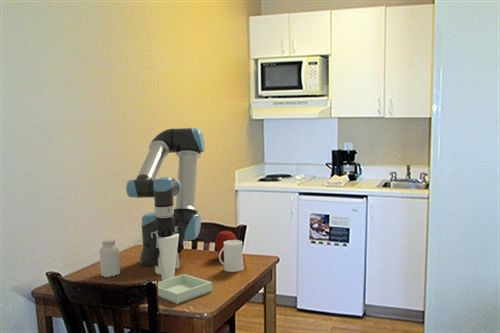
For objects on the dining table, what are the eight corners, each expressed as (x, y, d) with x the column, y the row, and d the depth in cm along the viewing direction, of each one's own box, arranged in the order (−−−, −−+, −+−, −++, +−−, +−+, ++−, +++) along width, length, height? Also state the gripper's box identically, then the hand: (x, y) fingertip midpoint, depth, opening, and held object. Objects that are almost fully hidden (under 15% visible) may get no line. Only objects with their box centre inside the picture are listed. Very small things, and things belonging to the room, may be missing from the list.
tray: (150, 293, 193) (149, 284, 192) (184, 282, 205) (184, 273, 204) (177, 304, 181) (177, 294, 181) (212, 291, 193) (211, 282, 193)
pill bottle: (114, 270, 224) (112, 237, 222) (123, 274, 218) (121, 240, 217) (97, 275, 218) (95, 240, 217) (106, 278, 213) (104, 243, 211)
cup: (157, 274, 213) (155, 232, 211) (183, 273, 212) (181, 231, 210) (152, 283, 202) (149, 239, 200) (178, 282, 202) (176, 238, 200)
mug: (224, 274, 213) (223, 246, 212) (213, 270, 220) (212, 243, 219) (247, 269, 220) (246, 242, 219) (236, 264, 227) (235, 238, 226)
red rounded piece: (225, 262, 232) (223, 232, 231) (211, 258, 239) (210, 229, 238) (241, 257, 239) (241, 228, 237) (228, 253, 246) (227, 225, 245)
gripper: (148, 222, 194) (151, 279, 197) (191, 212, 209) (193, 265, 212) (136, 219, 199) (140, 275, 202) (179, 210, 214) (182, 262, 217)
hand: (167, 270), depth 207 cm, fingers closed on cup, 8 cm apart
